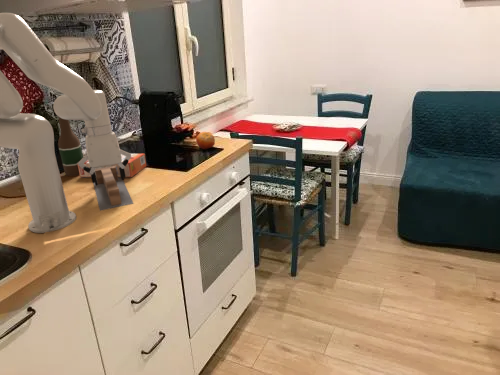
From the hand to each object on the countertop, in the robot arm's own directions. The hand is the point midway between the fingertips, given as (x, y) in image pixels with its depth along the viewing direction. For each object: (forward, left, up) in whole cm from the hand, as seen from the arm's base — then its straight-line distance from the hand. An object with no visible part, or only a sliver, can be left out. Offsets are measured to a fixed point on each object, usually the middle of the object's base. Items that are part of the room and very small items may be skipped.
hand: (109, 181), depth 138 cm
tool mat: (0, 0, -4) cm, 4 cm away
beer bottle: (+29, +10, -4) cm, 31 cm away
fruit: (+33, -44, -4) cm, 55 cm away
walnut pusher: (-1, 0, -3) cm, 4 cm away
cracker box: (+16, -12, -1) cm, 20 cm away
